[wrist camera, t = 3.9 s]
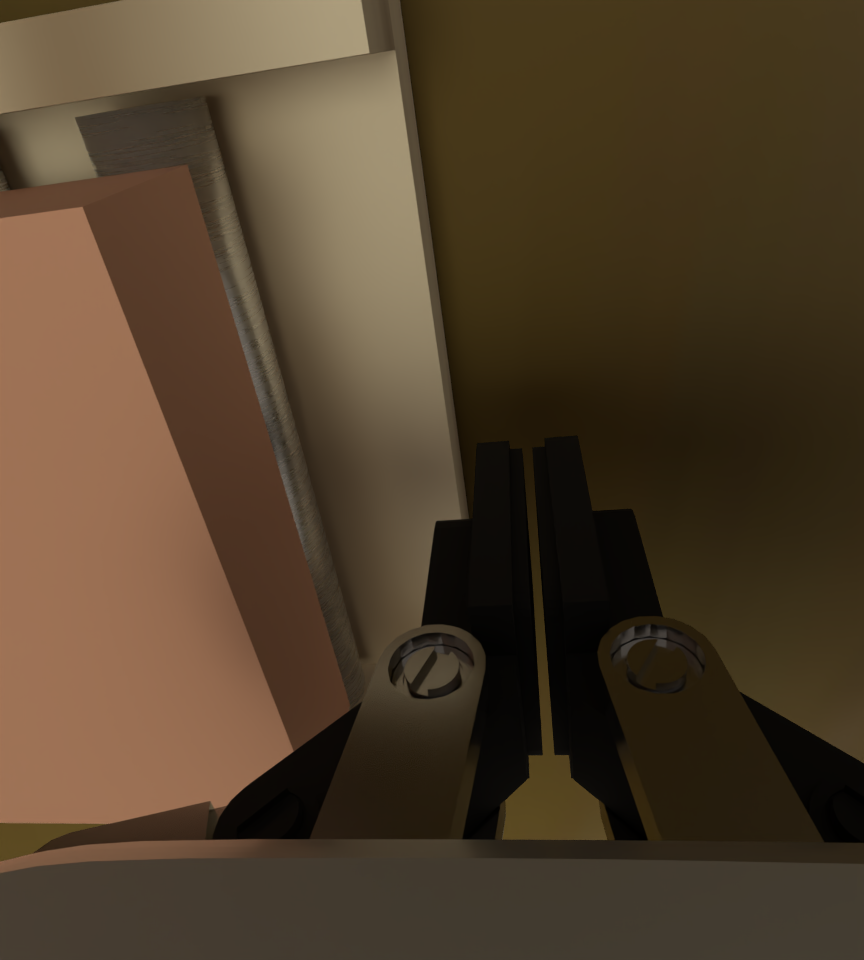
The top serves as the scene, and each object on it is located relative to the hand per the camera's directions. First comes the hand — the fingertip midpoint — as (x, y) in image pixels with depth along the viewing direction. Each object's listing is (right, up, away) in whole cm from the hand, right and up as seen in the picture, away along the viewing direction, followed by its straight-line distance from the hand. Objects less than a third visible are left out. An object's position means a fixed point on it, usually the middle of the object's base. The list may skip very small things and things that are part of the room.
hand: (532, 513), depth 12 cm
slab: (-11, 0, +2) cm, 12 cm away
